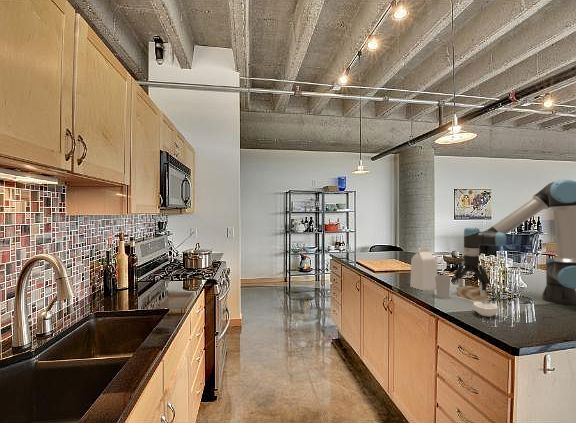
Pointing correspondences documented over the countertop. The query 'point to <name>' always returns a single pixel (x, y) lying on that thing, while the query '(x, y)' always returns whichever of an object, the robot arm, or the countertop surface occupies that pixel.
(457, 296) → the mat
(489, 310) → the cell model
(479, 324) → the countertop surface
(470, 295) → the bread bun
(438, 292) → the cup
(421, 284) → the milk
